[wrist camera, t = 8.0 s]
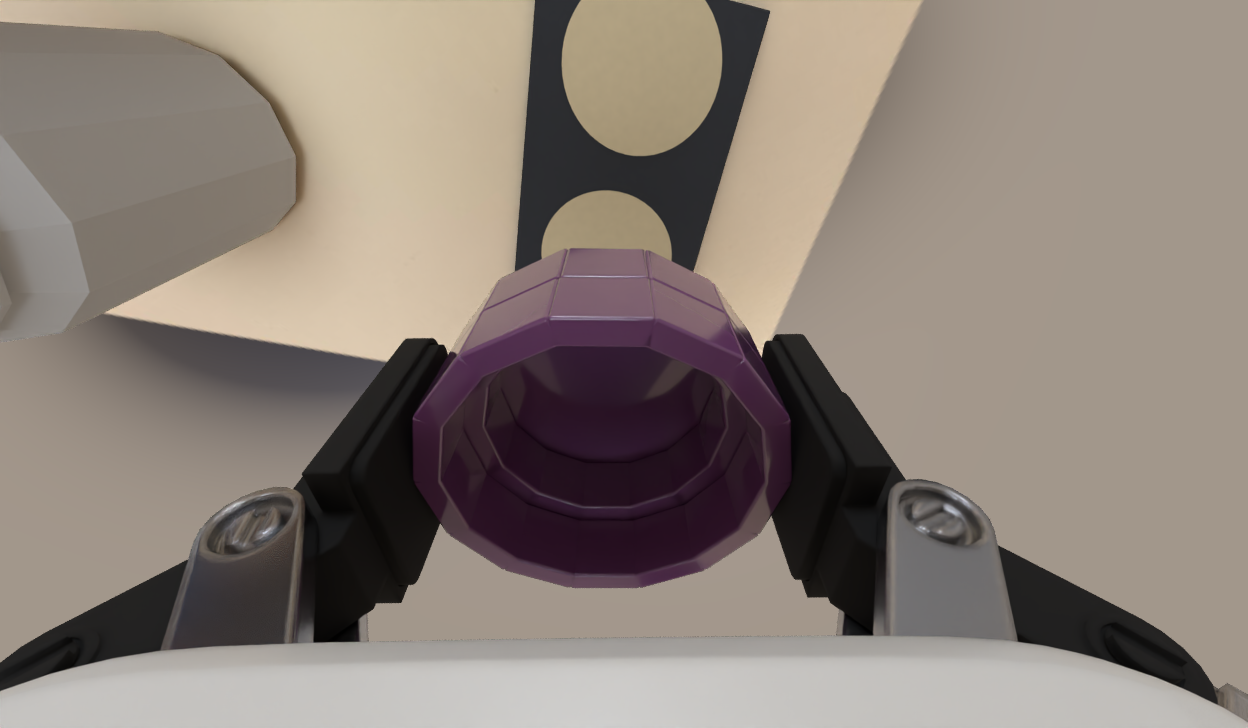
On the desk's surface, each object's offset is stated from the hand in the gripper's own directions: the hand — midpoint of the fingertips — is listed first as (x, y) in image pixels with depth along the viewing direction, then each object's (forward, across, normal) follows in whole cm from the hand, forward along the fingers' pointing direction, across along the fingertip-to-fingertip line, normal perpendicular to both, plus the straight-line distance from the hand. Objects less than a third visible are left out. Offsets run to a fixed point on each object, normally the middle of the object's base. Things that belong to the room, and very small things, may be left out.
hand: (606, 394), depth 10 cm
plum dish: (+1, 0, 0) cm, 1 cm away
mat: (+20, 0, 0) cm, 20 cm away
